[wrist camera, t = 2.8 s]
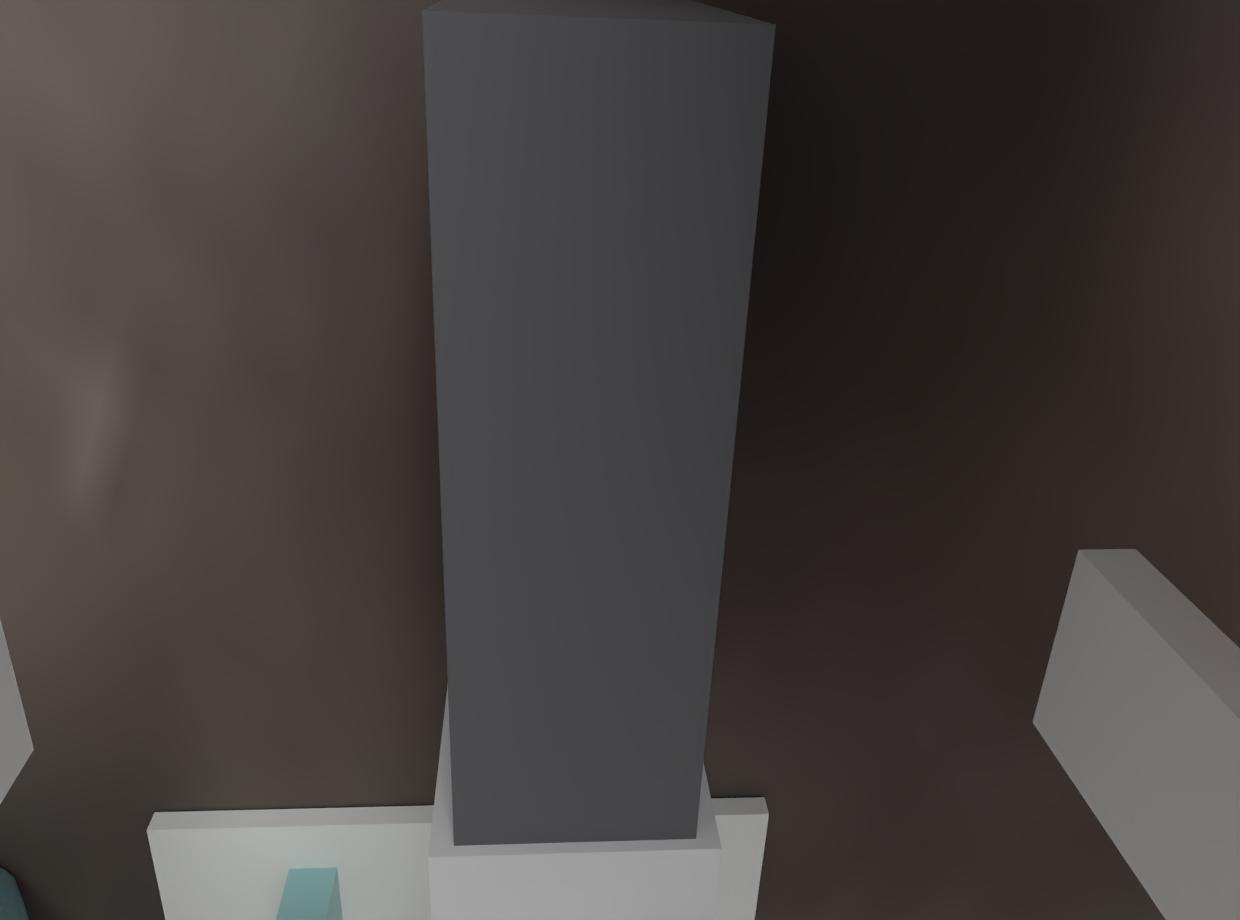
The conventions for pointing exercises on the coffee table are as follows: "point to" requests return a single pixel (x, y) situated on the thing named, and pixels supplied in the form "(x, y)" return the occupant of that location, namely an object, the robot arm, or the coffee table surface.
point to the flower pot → (10, 898)
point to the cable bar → (585, 439)
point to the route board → (362, 862)
